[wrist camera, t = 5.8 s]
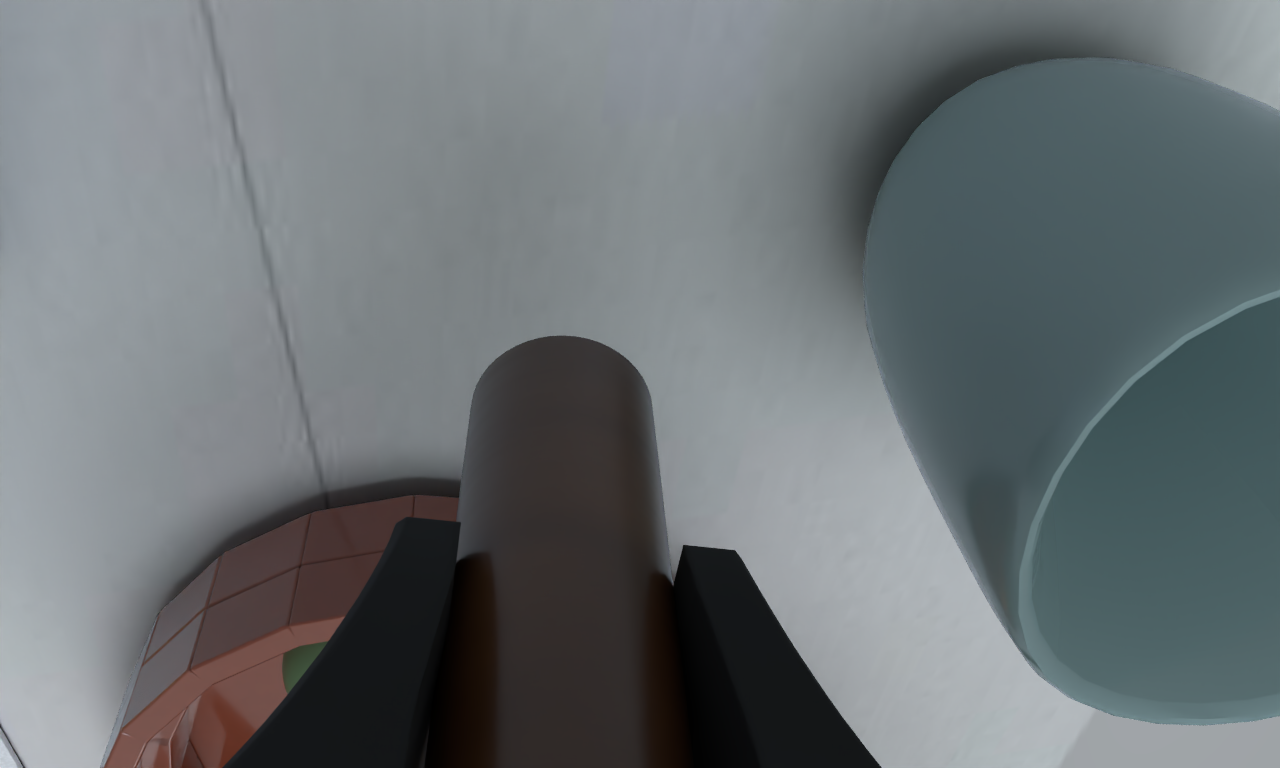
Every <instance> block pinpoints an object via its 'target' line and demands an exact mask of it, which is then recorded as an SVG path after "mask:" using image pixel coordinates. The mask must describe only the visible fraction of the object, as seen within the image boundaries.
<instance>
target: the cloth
mask: <svg viewBox="0 0 1280 768" xmlns="http://www.w3.org/2000/svg"><path fill="white" fill-rule="evenodd" d="M0 768H23V766H22V765H21V763H20V761H19V759H18V758H17V756H16V754H15V752H14V751H13V749H12V747H11V745H10V744H9V742H8V740H7V738H6V737H5V735H4V733H3V731H2V730H1V728H0Z"/></svg>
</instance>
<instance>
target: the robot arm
mask: <svg viewBox="0 0 1280 768" xmlns="http://www.w3.org/2000/svg"><path fill="white" fill-rule="evenodd" d="M460 527H461V522H454V521H444V520H435V519H425V518H415V517H405V518H404V519H402V520H401V521H399V522H397V523H396V524H395V527H394V529H393V532H392V535H391V537H390V540H389V542H388V544H387V546H386V548H385V550H384V552H383V554H382V556H381V558H380V560H379V562H378V564H377V566H376V567H375V569H374V571H373V573H372V575H371V576H370V578H369V580H368V581H367V583H366V585H365V586H364V588H363V590H362V591H361V593H360V595H359V596H358V598H357V599H356V601H355V602H354V604H353V605H352V607H351V608H350V610H349V611H348V613H347V614H346V616H345V617H344V619H343V620H342V622H341V623H340V625H339V626H338V628H337V629H336V631H335V632H334V634H333V635H332V637H331V638H330V640H329V641H328V642H327V644H326V645H325V647H324V648H323V649H322V651H321V652H320V653H319V655H318V656H317V657H316V659H315V660H314V661H313V662H312V664H311V665H310V666H309V668H308V669H307V670H306V671H305V673H304V674H303V675H302V677H301V678H300V679H299V680H298V682H297V683H296V684H295V686H294V687H293V688H292V689H291V691H290V692H289V693H288V695H287V696H286V697H285V698H284V700H283V701H282V702H281V703H280V704H279V705H278V707H277V708H276V709H275V710H274V711H273V713H272V714H271V715H270V716H269V717H268V718H267V720H266V721H265V722H264V723H263V724H262V725H261V726H260V727H259V729H258V730H257V731H256V732H255V733H254V734H253V735H252V736H251V738H250V739H249V740H248V741H247V742H246V743H245V744H244V745H243V746H242V747H241V748H240V749H239V750H238V751H237V753H236V754H235V755H234V756H233V757H232V758H231V759H230V760H229V761H228V762H227V763H226V764H225V765H224V766H223V767H222V768H424V765H425V757H426V750H427V742H428V734H429V726H430V719H431V711H432V704H433V698H434V692H435V686H436V681H437V677H438V672H439V667H440V662H441V658H442V653H443V648H444V643H445V639H446V634H447V630H448V625H449V617H450V609H451V601H452V593H453V585H454V576H455V568H456V560H457V552H458V544H459V535H460ZM673 589H674V598H675V607H676V615H677V624H678V633H679V641H680V650H681V658H682V666H683V675H684V683H685V692H686V701H687V709H688V718H689V726H690V735H691V744H692V752H693V761H694V768H881V766H880V765H879V764H878V763H877V761H876V760H875V759H874V758H873V756H872V755H871V754H870V753H869V751H868V750H867V749H866V748H865V746H864V745H863V744H862V742H861V741H860V740H859V738H858V737H857V736H856V734H855V733H854V732H853V730H852V729H851V728H850V727H849V725H848V724H847V723H846V721H845V720H844V719H843V717H842V716H841V714H840V713H839V712H838V710H837V709H836V708H835V706H834V705H833V703H832V702H831V701H830V699H829V698H828V696H827V695H826V693H825V692H824V691H823V689H822V688H821V686H820V685H819V683H818V682H817V680H816V679H815V677H814V676H813V674H812V673H811V671H810V670H809V668H808V667H807V665H806V664H805V662H804V661H803V659H802V658H801V656H800V655H799V653H798V652H797V650H796V649H795V647H794V646H793V644H792V643H791V641H790V639H789V638H788V636H787V635H786V633H785V631H784V630H783V628H782V627H781V625H780V623H779V622H778V620H777V618H776V617H775V615H774V614H773V612H772V610H771V609H770V607H769V605H768V604H767V602H766V600H765V598H764V597H763V595H762V593H761V592H760V590H759V588H758V587H757V585H756V583H755V581H754V580H753V578H752V576H751V574H750V573H749V571H748V569H747V568H746V566H745V564H744V562H743V561H742V559H741V558H740V556H739V555H738V554H737V552H736V551H735V550H727V549H717V548H707V547H698V546H688V545H683V549H682V553H681V557H680V561H679V565H678V569H677V573H676V577H675V581H674V585H673Z"/></svg>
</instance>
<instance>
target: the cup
mask: <svg viewBox="0 0 1280 768" xmlns="http://www.w3.org/2000/svg"><path fill="white" fill-rule="evenodd" d="M862 275H863V291H864V306H865V314H866V322H867V329H868V332H869V336H870V340H871V344H872V348H873V351H874V355H875V358H876V361H877V365H878V368H879V371H880V375H881V378H882V381H883V384H884V387H885V390H886V393H887V396H888V398H889V401H890V404H891V407H892V410H893V412H894V414H895V417H896V419H897V421H898V424H899V426H900V429H901V431H902V433H903V436H904V438H905V440H906V442H907V445H908V447H909V449H910V451H911V453H912V455H913V457H914V460H915V462H916V464H917V466H918V468H919V470H920V472H921V474H922V476H923V478H924V480H925V482H926V484H927V486H928V488H929V490H930V492H931V494H932V496H933V498H934V500H935V502H936V504H937V506H938V508H939V510H940V512H941V514H942V516H943V518H944V520H945V522H946V524H947V526H948V528H949V530H950V531H951V533H952V535H953V537H954V539H955V541H956V543H957V545H958V547H959V549H960V551H961V553H962V555H963V557H964V558H965V560H966V562H967V564H968V566H969V568H970V570H971V572H972V574H973V575H974V577H975V579H976V581H977V583H978V585H979V587H980V589H981V590H982V592H983V594H984V596H985V597H986V599H987V601H988V603H989V604H990V606H991V608H992V610H993V611H994V613H995V615H996V616H997V618H998V619H999V621H1000V622H1001V624H1002V625H1003V627H1004V628H1005V630H1006V631H1007V633H1008V634H1009V636H1010V637H1011V639H1012V640H1013V642H1014V643H1015V645H1016V646H1017V648H1018V649H1019V651H1020V652H1021V654H1022V655H1023V657H1024V658H1025V660H1026V661H1027V663H1028V664H1029V665H1030V666H1031V668H1032V669H1033V670H1034V671H1035V672H1036V673H1037V674H1038V675H1039V676H1040V677H1041V678H1043V679H1044V680H1045V681H1047V682H1048V683H1049V684H1051V685H1052V686H1054V687H1055V688H1056V689H1058V690H1059V691H1060V692H1062V693H1063V694H1064V695H1066V696H1067V697H1068V698H1071V699H1073V700H1075V701H1078V702H1080V703H1083V704H1085V705H1088V706H1090V707H1093V708H1096V709H1098V710H1101V711H1103V712H1106V713H1108V714H1111V715H1113V716H1119V717H1124V718H1129V719H1134V720H1140V721H1145V722H1151V723H1156V724H1179V725H1180V724H1181V725H1215V724H1226V723H1238V722H1250V721H1257V720H1262V719H1266V718H1272V717H1277V716H1280V111H1279V110H1277V109H1275V108H1273V107H1271V106H1269V105H1267V104H1265V103H1262V102H1260V101H1258V100H1255V99H1253V98H1251V97H1248V96H1246V95H1244V94H1241V93H1239V92H1236V91H1234V90H1231V89H1229V88H1226V87H1223V86H1221V85H1218V84H1216V83H1213V82H1210V81H1208V80H1205V79H1202V78H1200V77H1197V76H1194V75H1191V74H1188V73H1185V72H1182V71H1179V70H1176V69H1172V68H1169V67H1164V66H1158V65H1153V64H1148V63H1142V62H1135V61H1129V60H1122V59H1116V58H1110V57H1095V58H1059V59H1048V60H1043V61H1038V62H1033V63H1028V64H1023V65H1018V66H1014V67H1011V68H1008V69H1006V70H1003V71H1001V72H998V73H996V74H993V75H990V76H988V77H985V78H983V79H980V80H978V81H976V82H975V83H973V84H971V85H970V86H968V87H967V88H965V89H963V90H962V91H960V92H958V93H957V94H955V95H954V96H952V97H950V98H949V99H947V100H946V101H944V102H943V103H942V104H941V105H940V106H939V107H938V108H937V109H936V110H935V111H934V112H933V113H932V114H931V115H930V116H929V117H928V118H926V119H925V120H924V121H923V122H922V123H921V124H920V125H919V126H918V127H917V128H916V130H915V131H914V132H913V134H912V135H911V137H910V138H909V139H908V141H907V142H906V143H905V145H904V146H903V148H902V149H901V150H900V152H899V153H898V154H897V156H896V157H895V159H894V161H893V163H892V165H891V167H890V169H889V171H888V173H887V175H886V177H885V179H884V181H883V183H882V185H881V187H880V189H879V191H878V194H877V198H876V201H875V204H874V207H873V211H872V214H871V217H870V221H869V224H868V230H867V238H866V246H865V254H864V263H863V273H862Z"/></svg>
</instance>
